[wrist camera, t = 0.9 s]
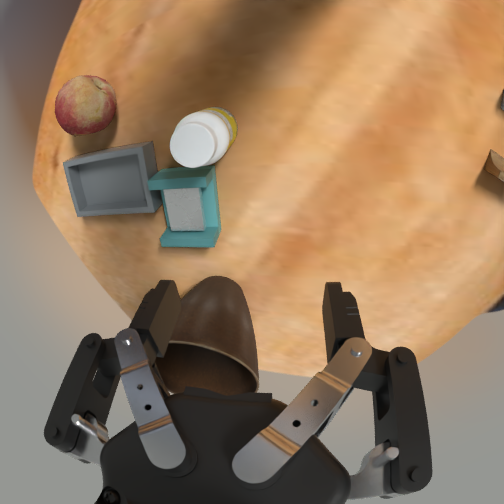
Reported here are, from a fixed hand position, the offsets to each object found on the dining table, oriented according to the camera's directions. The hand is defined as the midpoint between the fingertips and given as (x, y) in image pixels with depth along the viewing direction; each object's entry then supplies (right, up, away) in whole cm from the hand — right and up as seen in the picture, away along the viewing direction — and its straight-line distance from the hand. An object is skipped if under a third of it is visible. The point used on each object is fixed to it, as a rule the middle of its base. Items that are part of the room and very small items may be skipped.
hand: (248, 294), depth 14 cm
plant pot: (-5, -4, +29) cm, 30 cm away
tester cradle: (-8, +9, +20) cm, 23 cm away
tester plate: (-8, +8, +18) cm, 21 cm away
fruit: (-19, +22, +13) cm, 32 cm away
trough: (-19, +13, +19) cm, 30 cm away
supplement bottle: (-4, +17, +15) cm, 23 cm away
